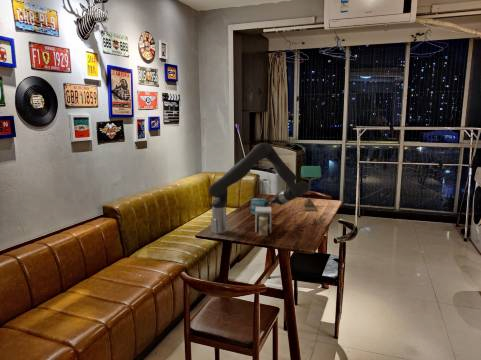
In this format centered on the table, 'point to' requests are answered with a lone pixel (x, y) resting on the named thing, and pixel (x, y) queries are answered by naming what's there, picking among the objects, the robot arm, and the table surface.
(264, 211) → the tunnel
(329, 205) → the table surface
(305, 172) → the banker's lamp
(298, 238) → the table surface
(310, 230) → the table surface
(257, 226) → the grey open box
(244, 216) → the table surface
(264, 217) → the maple block
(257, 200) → the data package
